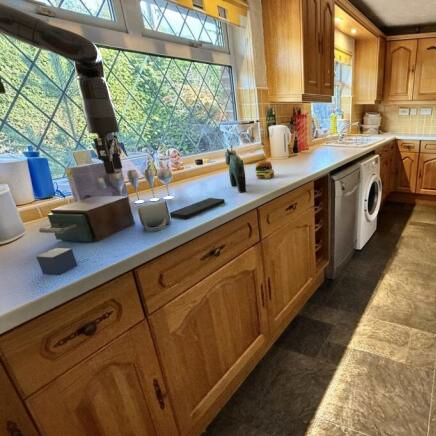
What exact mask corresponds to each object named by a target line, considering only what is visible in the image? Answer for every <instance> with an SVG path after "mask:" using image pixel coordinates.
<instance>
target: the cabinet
mask: <svg viewBox="0 0 436 436" xmlns="http://www.w3.org/2000/svg"><path fill="white" fill-rule="evenodd" d="M129 199H130V198H129ZM129 199H128V196H93V197H90V198H86V199H83V200H80V201H77V202H75V201H74V202H71V203H67V204H64V205H61V206H57V207H55V208H51V209H50V214H51V213H58V212H63V213H86V215H87V218H88V221H89V224H90V227H91V230H92V233H93V236H92V238H93V240H91V241H90V242H96V243H97V242H100V241H102V240H104V239H106V238H108V237H110V236H112V235H115V234H117V233H119V232H121V231H123V230H125V229H127V228H129V227H131V226H134V225H136V222H135V217H134V215H133V211H132V207H131V203H130V202H129ZM74 241H76V240H73V242H74Z"/></svg>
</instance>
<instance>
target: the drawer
mask: <svg viewBox="0 0 436 436" xmlns="http://www.w3.org/2000/svg"><path fill="white" fill-rule="evenodd" d="M46 215H47V218H48V221H49V223H50V226H47V227H39V229H38V231H39V233H41V234H42V233H43V234H54V237H55V240H56V241H57V240H58V241H74V240H76V241H77V242H92V241H91V240H93V238H92V236H93V233H92V230H91V227H90V224H89V221H88V218H87V215H86V213H63V212H58V213H51V212H50V213H47V214H46Z"/></svg>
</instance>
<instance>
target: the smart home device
mask: <svg viewBox="0 0 436 436" xmlns="http://www.w3.org/2000/svg"><path fill="white" fill-rule="evenodd" d="M224 204H226V201H225V199H224V198H216V197H207V198H205V199H201V200H200V201H197V202H195V203H192V204H189V205H186V206H184V207H181V208H179V209H178V208H177V209H176V210H173V211H170V212H169V215H170V218H172V219H173V218H175V219H181V220H188V219H192V218H194V217H196V216H198V215H200V214H202V213H205V212H207V211H211V210H212V209H213V210H214V208H218V207H219V206H222V205H224Z"/></svg>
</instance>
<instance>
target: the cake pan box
mask: <svg viewBox="0 0 436 436" xmlns="http://www.w3.org/2000/svg"><path fill="white" fill-rule="evenodd" d="M64 171H65V174H66V175H65V176H66V178H67V181H68V185H69V188H70V191H71V194H72V198H73V200H74V202H77V201H80V200H83V199H86V198H90V197H93V196H120V193H119V191H118V190H117V189H116V188H115V187H113V186H112V185H111V183H110V182H109V179H108V174H107V173H106V171H105V167H104V164H103V161H100V162H94V163H93V162H92V163H86V164H85V163H84V164H80V165H73V166H65V167H64ZM115 172H122V173H123V174H124V172H123V167H122V168H121V169H115ZM114 174H115V173H114ZM103 177H105V179H106V181H107V187H106V188H101V187H100V186H99V184H98V178H103ZM121 194H122V196H128V199H129V201H130V202H131V200H130V195H129V192H128V188H127V184H126V181H125V179H124V185H123V187H122V189H121Z"/></svg>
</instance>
